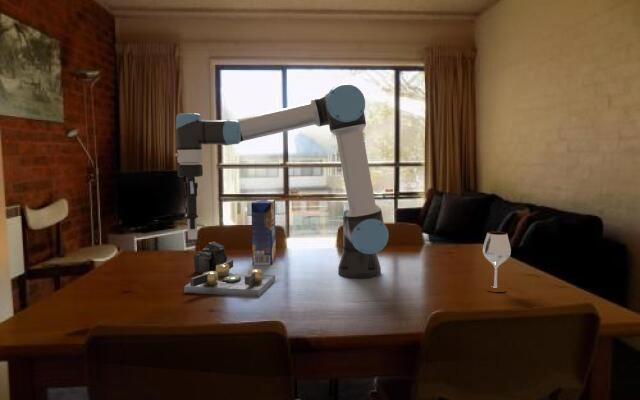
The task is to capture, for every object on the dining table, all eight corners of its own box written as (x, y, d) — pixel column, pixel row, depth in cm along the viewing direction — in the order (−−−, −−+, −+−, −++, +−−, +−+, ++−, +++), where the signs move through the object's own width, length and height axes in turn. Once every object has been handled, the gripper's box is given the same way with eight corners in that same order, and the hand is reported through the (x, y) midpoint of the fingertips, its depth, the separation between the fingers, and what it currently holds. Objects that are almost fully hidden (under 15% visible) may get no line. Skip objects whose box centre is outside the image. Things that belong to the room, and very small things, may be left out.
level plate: (275, 280, 162) (275, 271, 162) (258, 296, 144) (258, 286, 144) (208, 277, 167) (207, 268, 166) (183, 292, 149) (183, 283, 148)
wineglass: (496, 295, 145) (498, 236, 143) (475, 288, 152) (477, 232, 150) (515, 291, 149) (517, 234, 147) (494, 285, 156) (496, 230, 154)
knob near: (210, 280, 154) (210, 270, 154) (220, 282, 152) (220, 271, 152) (186, 288, 146) (186, 277, 145) (197, 290, 143) (197, 279, 143)
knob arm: (250, 278, 157) (250, 268, 156) (263, 279, 156) (263, 268, 155) (240, 287, 147) (239, 276, 146) (254, 287, 146) (253, 276, 145)
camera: (216, 274, 171) (216, 247, 170) (191, 273, 173) (190, 245, 172) (232, 266, 184) (231, 240, 183) (208, 264, 186) (207, 239, 185)
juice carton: (271, 265, 185) (270, 202, 182) (252, 264, 185) (251, 202, 183) (275, 258, 197) (275, 199, 194) (257, 258, 197) (256, 199, 195)
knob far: (226, 276, 159) (226, 266, 158) (214, 276, 160) (213, 266, 159) (237, 269, 169) (237, 259, 168) (225, 268, 169) (225, 259, 169)
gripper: (176, 163, 154) (179, 236, 157) (178, 164, 142) (181, 243, 144) (200, 163, 157) (203, 234, 159) (204, 164, 144) (206, 241, 147)
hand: (192, 238), depth 152 cm, fingers closed
